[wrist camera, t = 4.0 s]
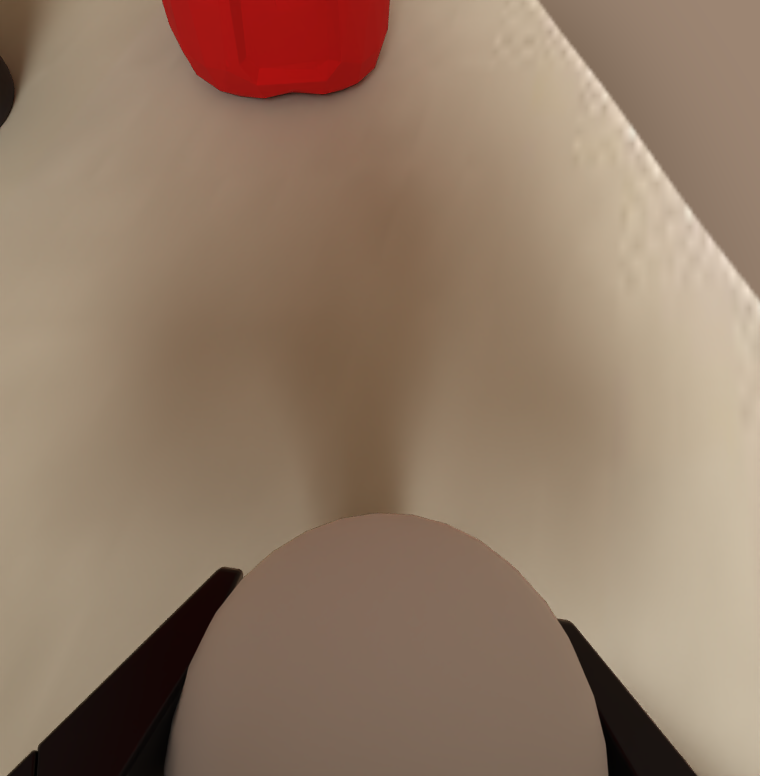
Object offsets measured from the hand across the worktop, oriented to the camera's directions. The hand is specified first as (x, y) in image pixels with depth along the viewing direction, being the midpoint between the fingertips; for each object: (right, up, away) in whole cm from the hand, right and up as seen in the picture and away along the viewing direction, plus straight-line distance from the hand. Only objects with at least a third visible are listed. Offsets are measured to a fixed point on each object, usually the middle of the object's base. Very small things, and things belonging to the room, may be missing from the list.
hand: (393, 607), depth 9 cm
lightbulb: (-1, -3, +6) cm, 7 cm away
